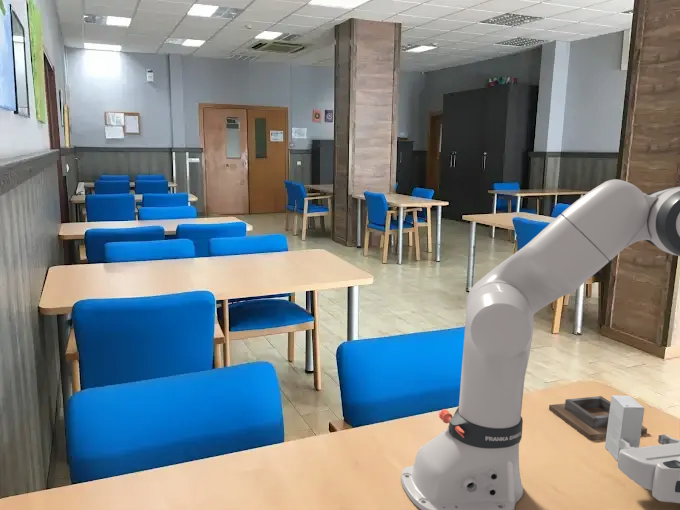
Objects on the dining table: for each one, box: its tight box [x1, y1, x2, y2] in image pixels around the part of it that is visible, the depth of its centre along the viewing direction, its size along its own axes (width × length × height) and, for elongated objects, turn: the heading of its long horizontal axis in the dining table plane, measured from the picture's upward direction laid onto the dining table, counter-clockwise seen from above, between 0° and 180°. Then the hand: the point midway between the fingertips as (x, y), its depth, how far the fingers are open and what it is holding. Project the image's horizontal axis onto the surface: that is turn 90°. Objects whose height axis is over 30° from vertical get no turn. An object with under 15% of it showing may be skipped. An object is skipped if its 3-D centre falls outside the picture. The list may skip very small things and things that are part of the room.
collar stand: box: [548, 395, 648, 441], centre depth 133 cm, size 15×15×4 cm
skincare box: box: [604, 394, 645, 462], centre depth 118 cm, size 6×4×12 cm
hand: (641, 440), depth 113 cm, fingers open, 8 cm apart
